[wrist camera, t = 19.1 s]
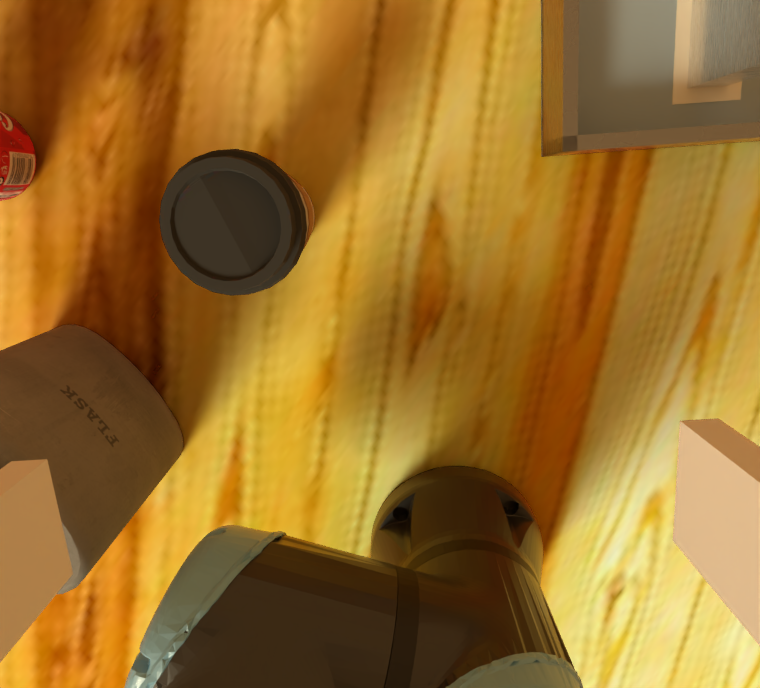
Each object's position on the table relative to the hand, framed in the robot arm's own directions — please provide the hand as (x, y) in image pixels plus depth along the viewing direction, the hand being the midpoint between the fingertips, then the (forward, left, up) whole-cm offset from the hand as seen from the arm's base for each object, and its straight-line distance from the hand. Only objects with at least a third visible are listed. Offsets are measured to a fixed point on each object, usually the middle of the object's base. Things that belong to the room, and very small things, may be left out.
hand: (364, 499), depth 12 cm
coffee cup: (+5, +8, -37) cm, 38 cm away
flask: (-9, +23, -37) cm, 44 cm away
